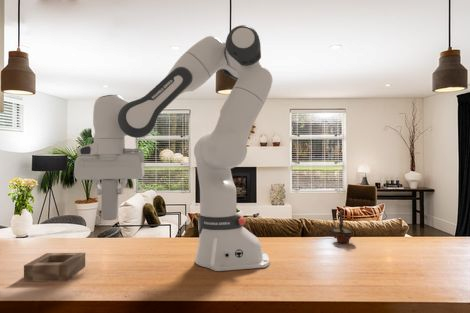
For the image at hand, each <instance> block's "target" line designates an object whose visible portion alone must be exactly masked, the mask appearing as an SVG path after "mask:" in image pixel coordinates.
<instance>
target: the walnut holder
mask: <svg viewBox="0 0 470 313" xmlns="http://www.w3.org/2000/svg"><path fill="white" fill-rule="evenodd" d="M85 267H86V252H46V253H44V254H43V255H41V256H38V257H37V258H35V259H33V260H31V261H30V262H28V263H26V264H24V265H23V282H55V281H56V282H59V281H67V282H68V281H69V280H70V279H71V278H72V277H74V276H75V275H77V274H78V273H79V272H81V270H83V269H84V268H85Z"/></svg>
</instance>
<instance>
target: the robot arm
mask: <svg viewBox="0 0 470 313" xmlns="http://www.w3.org/2000/svg"><path fill="white" fill-rule="evenodd" d="M259 36H260V35H259V34H258V32H257V31H256V29H254V28H253V27H251V26H249V25H243V24H241V25H238V26H235V27H233V28H232V29H231V30H230V31H229V33H228V34H227V36H226V40H225V42H223V41H222V40H220V39H219V38H218V37H216V36H212V35H208V36H206V37H204V38H202V39H200V40H199V41H197V42H196V43H195V44H193V45H192V46H190V48H188V50H187V51H186V52H184V53H183V54H182V55H181V56H180V57H179V58H178V59H177V61H176V62H175V63H174V65H173V67H171V69H170V70H169V72H168V73H167V75H166V76H165V77H164V78H163V79H162V80H161V81H160V82H159V83H158V84H156V86H154V87H153V88H152V89H151V90H150V91H149V92H148V93H146V94H145V95H144V96H143V97H141V98H138V99H136V100H133V101H128V100H126V99H124V98H123V97H122V96H121V95H119V94H107V95H106V94H105V95H102V96H100V97H98V98H96V100H95V102H94V105H93V116H92V117H93V118H92V119H93V122H92V123H93V128H94V134H93V143H89V144H87V145H84V146H80V147H78V148H77V149H76V155H77V157H76V158H75V160H74V167H73V176H74V178H75V179H76V180H77V181H92V184H93V186H94V188H95V189H96V195H99V196H102V186H100V183H101V181H102V180H105V179H118V180H120V183H121V186H120V187H119V188H118V189H117V191H118V192H117V194H118V195H123V194H124V193H125V187H126V186H127V183H128V180H139V179H140V180H141V179H143V178H144V177H145V166H144V161H145V153H144V151H143V150H141V149H140V148H126V147H125V146H126V145H125V143H126V141H125V138H126V136H129V137H131V138H136V139H143V138H145V137H148V136H150V135H151V134H152V133H153V131H154V130H155V126H156V122H157V120H158V117H159V116H160V114H161V113H162V112H163V111H164V110H165V109H166V108H167V107H168V106H169V105H170V104H172V102H174V101H175V99H177V98H178V97H179V96H180V95H183V94H184V93H189V92H194V91H195V90H197V89H199V88H200V87H201V86H203V85H204V84H205V83H206V82H208V80H210V78H211V77H213V75H214V74H216V73H217V72H218V71H220V70H221V73H223V74H224V75H226V76H228V77H230V78H232V79H233V80H234V81H236V82H235V84H234V85H233V87H232V88H231V91H230V93H229V94H228V96H227V97H226V100H225V101H224V103H223V105H222V106H221V108H220V111H219V117H218V120H217V124H216V125H215V128H214V129H213V131H212V132H211V133H209V134H205V135H203V136H202V137H200V138H199V139H198V140H197V141H196V143H195V146H194V149H193V155H194V158H195V163H196V172H197V178H198V183H199V202H200V203H199V210H200V211H199V215H198V219H197V220H198V221H197V223H198V224H197V226H198V228H197V229H198V234H199V238H198V244H197V245H198V246H197V250H196V255H195V259H194V262H195V264H196V265H197V266H201V267H204V268H208V269H210V270H213V271H215V272H223V271H224V272H225V271H235V270H236V271H237V270H247V269H249V270H250V269H261V268H262V269H263V268H267V267H268V266H269V265H270V256H269V255H268V254H267V253H266V252H264V251H263V249H262V243H261V242H260V240H259V238H258V237H257V236H256V235H255V234H253V233H252V232H250V230H248V229H247V228H246V227H244V225H245V224H246V219H245V218H244V217H243V216H242V215H241V214H239V213H237V187H236V185H235V182H234V179H233V174H232V170H231V169H234V168H236V167H238V166H239V165H241V164H242V163H243V162H244V161H245V159H246V157H247V153H248V148H247V145H248V141H249V137H250V134H251V132H252V128H253V126H254V123H255V122H256V120H257V118H258V116H259V114H260V113H261V111H262V108H263V107H264V105H265V103H266V101H267V99H268V96H269V93H270V91H271V88H272V84H273V75H272V74H271V72H270V71H269V69H267V68H266V67H264V66H262V65H261V64H260V60H261V59H262V49H261V41H260V37H259Z"/></svg>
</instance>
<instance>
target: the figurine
mask: <svg viewBox="0 0 470 313" xmlns="http://www.w3.org/2000/svg"><path fill="white" fill-rule="evenodd" d="M343 218H344V213H343V210H342V209H340V210H339V213H338V214H337V220H339V224H338V225H339V227H331V228H330V230H329V233H331V235H332V236H333V238H334V239H336V241H337V243H339V244H340V243H341V244H343V243H345V244H346V243H350V240H351V238H352V236H353V234H354V232H353V231H352V230H351V229H350V228H349V227H348V228H347V227H344V219H343Z"/></svg>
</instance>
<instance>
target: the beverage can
mask: <svg viewBox="0 0 470 313" xmlns="http://www.w3.org/2000/svg"><path fill="white" fill-rule="evenodd" d="M119 185H120V184H119V179H105V180H101V188H102V195H100V196H101V198H100V202H101V203H100V207H101V209H100V210H101V211H100V216H101V217H100V218H101V219H102V220H103V221H114V220H117V219H118V217H119V194H117V192H118V191H117V189H118V188H120V187H119Z"/></svg>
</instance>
